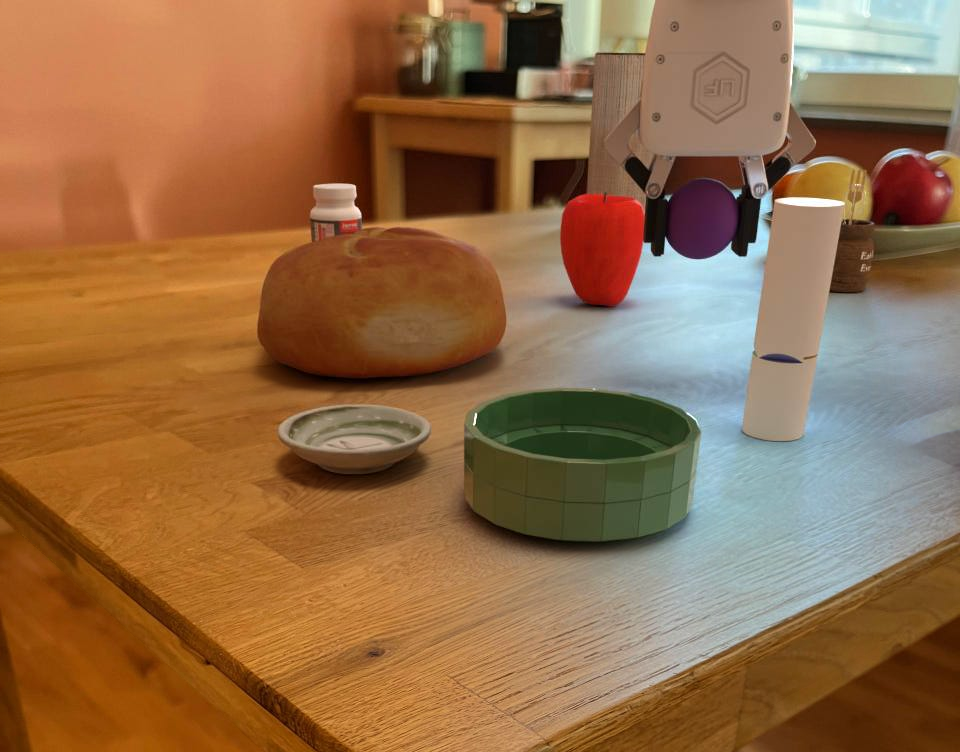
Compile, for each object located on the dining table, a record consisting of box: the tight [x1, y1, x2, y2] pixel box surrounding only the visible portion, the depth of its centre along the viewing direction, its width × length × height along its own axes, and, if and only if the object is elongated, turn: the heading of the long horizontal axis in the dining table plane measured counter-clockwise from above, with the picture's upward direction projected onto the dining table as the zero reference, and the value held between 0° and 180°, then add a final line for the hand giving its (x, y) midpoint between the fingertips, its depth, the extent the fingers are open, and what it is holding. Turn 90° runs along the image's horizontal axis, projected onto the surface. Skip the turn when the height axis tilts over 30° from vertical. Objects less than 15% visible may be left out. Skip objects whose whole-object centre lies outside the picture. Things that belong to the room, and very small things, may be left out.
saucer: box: [277, 403, 432, 475], centre depth 65 cm, size 10×10×2 cm
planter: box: [586, 52, 654, 213], centre depth 151 cm, size 10×10×23 cm
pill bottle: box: [309, 183, 363, 242], centre depth 114 cm, size 6×6×10 cm
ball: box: [665, 177, 740, 260], centre depth 76 cm, size 6×6×6 cm
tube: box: [741, 197, 846, 442], centre depth 68 cm, size 4×4×15 cm
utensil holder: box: [829, 169, 875, 293], centre depth 113 cm, size 6×6×12 cm
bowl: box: [463, 387, 702, 543], centre depth 59 cm, size 13×13×5 cm
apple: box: [559, 193, 645, 307], centre depth 105 cm, size 9×9×11 cm
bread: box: [256, 226, 507, 379], centre depth 86 cm, size 23×23×10 cm
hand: (697, 251), depth 77 cm, fingers closed on ball, 5 cm apart
